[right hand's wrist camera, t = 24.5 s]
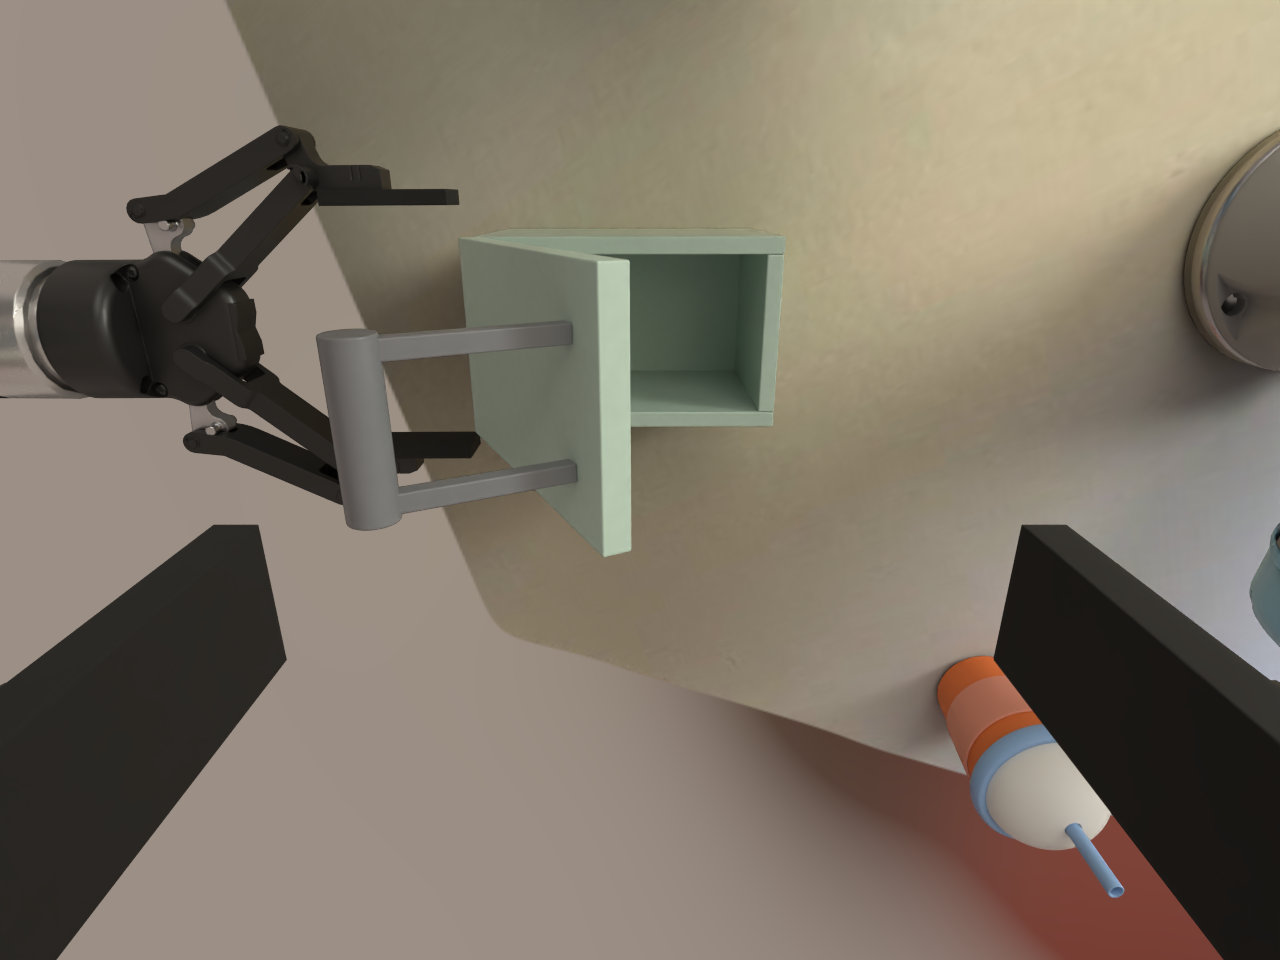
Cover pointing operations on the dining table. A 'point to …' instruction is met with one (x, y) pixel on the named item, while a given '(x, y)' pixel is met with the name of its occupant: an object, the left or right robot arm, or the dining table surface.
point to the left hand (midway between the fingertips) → (465, 328)
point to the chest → (692, 318)
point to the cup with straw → (1020, 767)
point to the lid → (505, 392)
